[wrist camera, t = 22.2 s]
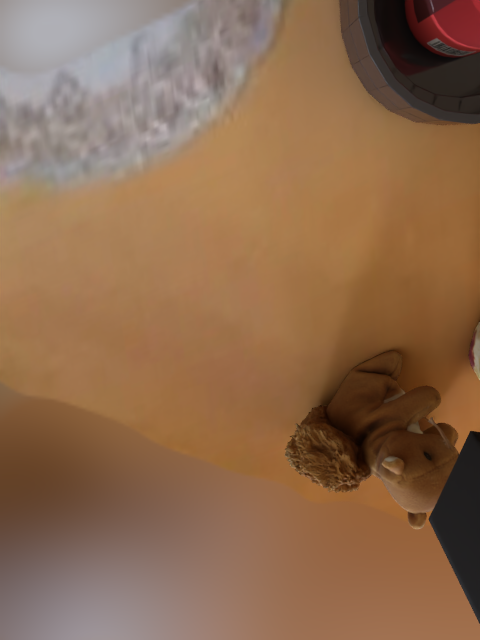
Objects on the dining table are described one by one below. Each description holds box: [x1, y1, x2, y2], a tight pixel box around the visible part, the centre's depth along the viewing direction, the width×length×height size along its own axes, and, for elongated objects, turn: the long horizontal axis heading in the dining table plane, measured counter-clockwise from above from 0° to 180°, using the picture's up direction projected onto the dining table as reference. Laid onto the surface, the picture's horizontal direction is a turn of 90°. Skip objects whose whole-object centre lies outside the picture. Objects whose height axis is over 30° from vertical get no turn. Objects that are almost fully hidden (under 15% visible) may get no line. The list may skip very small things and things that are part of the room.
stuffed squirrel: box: [285, 351, 459, 529], centre depth 38 cm, size 10×14×13 cm
